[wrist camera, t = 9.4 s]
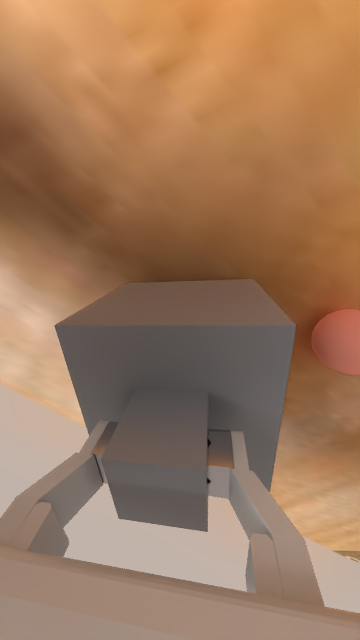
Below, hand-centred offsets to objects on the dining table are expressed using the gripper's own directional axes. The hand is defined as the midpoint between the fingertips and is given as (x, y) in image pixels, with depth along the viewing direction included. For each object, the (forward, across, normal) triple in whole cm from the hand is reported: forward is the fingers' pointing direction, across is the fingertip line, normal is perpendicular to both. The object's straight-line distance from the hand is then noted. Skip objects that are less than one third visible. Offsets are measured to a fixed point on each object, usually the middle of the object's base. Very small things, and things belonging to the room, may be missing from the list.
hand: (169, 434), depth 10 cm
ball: (+9, -12, 0) cm, 15 cm away
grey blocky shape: (+10, 0, 0) cm, 10 cm away
